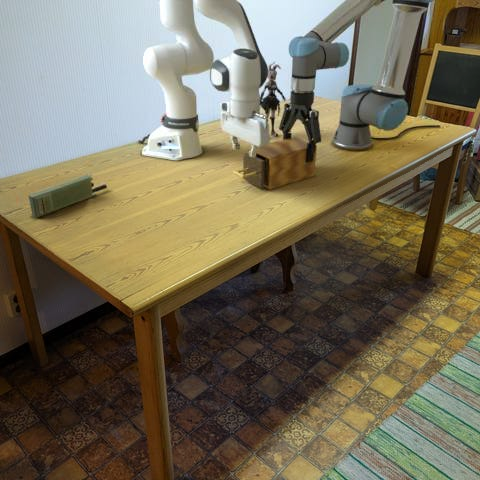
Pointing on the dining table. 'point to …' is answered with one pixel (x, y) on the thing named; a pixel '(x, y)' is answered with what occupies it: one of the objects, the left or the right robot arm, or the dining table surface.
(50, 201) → the handheld radio
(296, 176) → the cabinet
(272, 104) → the figurine
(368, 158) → the dining table surface
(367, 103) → the right robot arm
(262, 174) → the drawer
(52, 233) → the dining table surface
